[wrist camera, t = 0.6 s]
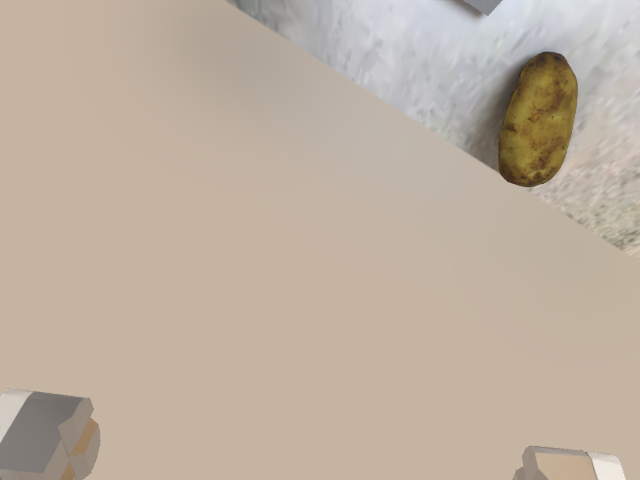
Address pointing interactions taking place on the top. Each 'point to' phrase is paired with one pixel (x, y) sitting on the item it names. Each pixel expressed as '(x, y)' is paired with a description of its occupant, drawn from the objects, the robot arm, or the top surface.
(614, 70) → the top surface
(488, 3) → the tuner board
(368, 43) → the top surface
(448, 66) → the top surface
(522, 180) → the potato
